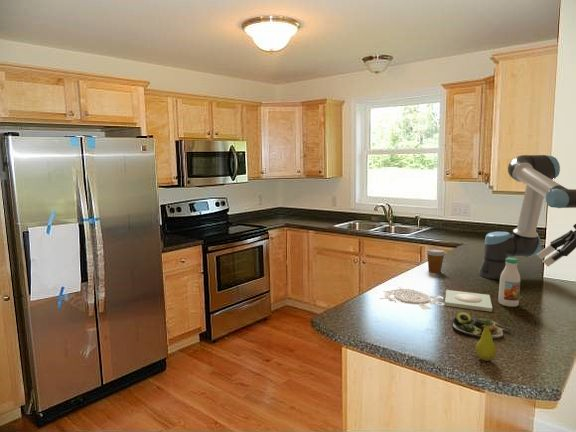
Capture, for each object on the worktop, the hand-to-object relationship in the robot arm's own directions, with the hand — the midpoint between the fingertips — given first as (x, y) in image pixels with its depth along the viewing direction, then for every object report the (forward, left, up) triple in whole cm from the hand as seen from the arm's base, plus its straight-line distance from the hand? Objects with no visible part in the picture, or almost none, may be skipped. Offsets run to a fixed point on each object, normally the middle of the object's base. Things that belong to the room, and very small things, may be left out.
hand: (541, 260), depth 168 cm
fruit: (+59, -23, -20) cm, 67 cm away
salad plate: (+34, -25, -21) cm, 47 cm away
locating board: (+4, -27, -20) cm, 34 cm away
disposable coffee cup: (-42, -43, -20) cm, 63 cm away
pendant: (+8, -50, -21) cm, 55 cm away
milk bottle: (0, -11, -20) cm, 23 cm away
